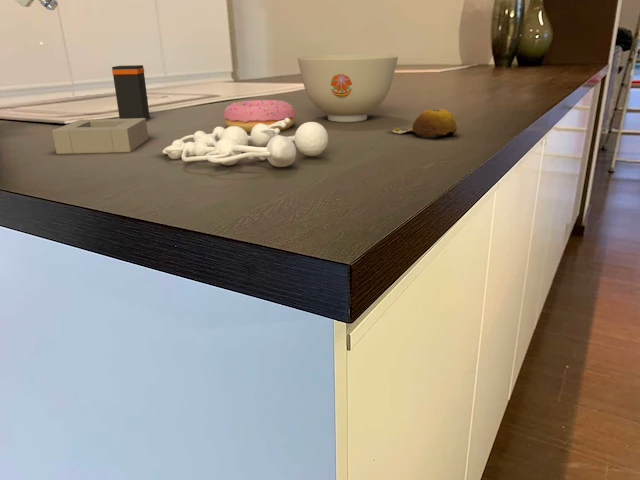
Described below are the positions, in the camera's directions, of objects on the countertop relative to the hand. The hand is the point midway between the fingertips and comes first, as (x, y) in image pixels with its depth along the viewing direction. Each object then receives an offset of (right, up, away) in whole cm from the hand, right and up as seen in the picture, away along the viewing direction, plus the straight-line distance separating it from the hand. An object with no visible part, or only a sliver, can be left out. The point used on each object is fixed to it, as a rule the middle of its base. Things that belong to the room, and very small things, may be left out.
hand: (42, 5), depth 86 cm
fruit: (+60, -23, -10) cm, 65 cm away
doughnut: (+35, -21, -4) cm, 41 cm away
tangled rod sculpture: (+35, -29, -25) cm, 52 cm away
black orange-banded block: (+13, -17, +6) cm, 22 cm away
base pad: (+16, -25, -15) cm, 34 cm away
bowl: (+49, -18, +4) cm, 52 cm away
